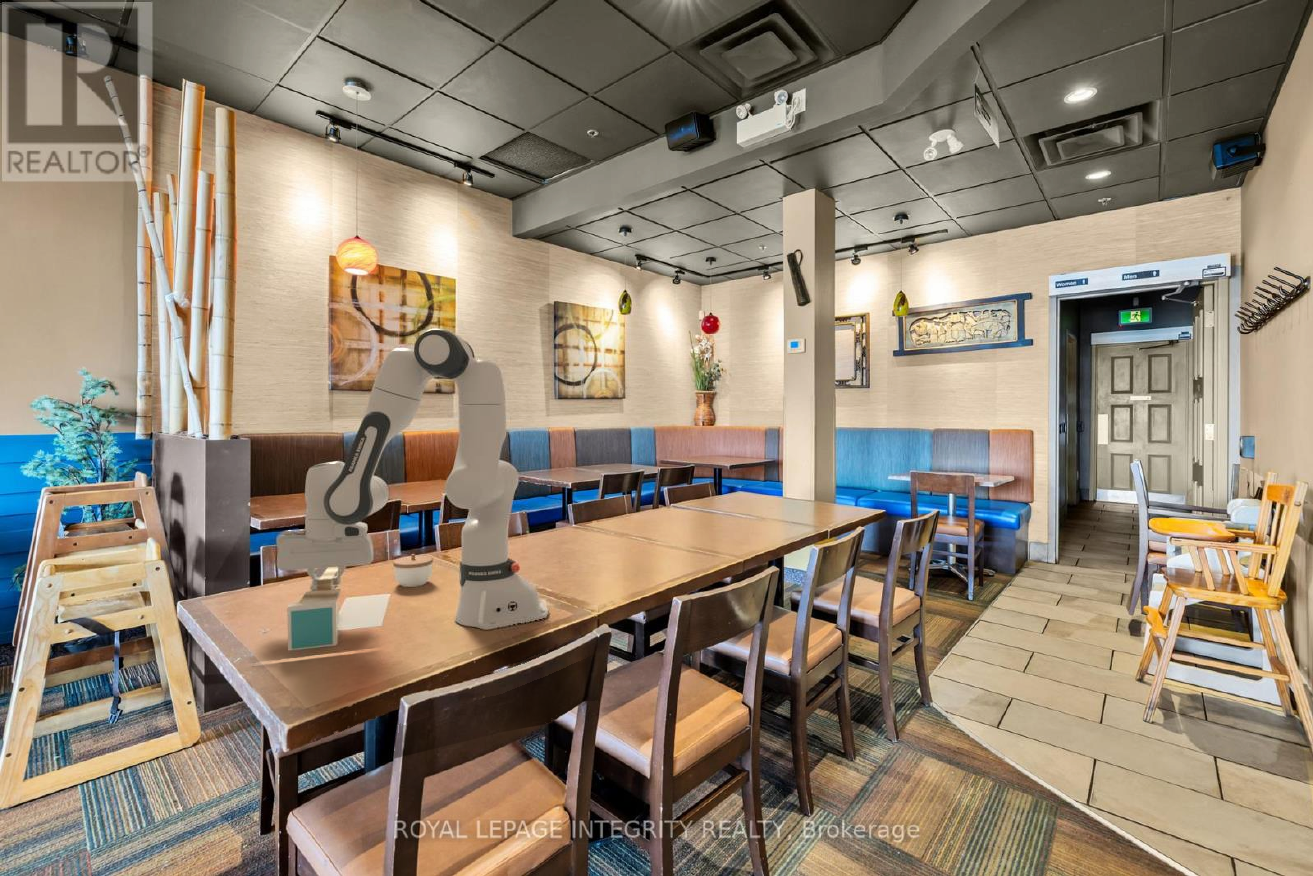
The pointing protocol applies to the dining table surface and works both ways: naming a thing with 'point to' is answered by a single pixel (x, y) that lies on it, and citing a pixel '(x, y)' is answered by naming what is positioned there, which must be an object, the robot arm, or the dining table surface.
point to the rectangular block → (312, 624)
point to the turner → (324, 588)
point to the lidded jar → (413, 570)
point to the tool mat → (362, 612)
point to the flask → (318, 573)
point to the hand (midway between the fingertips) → (327, 585)
